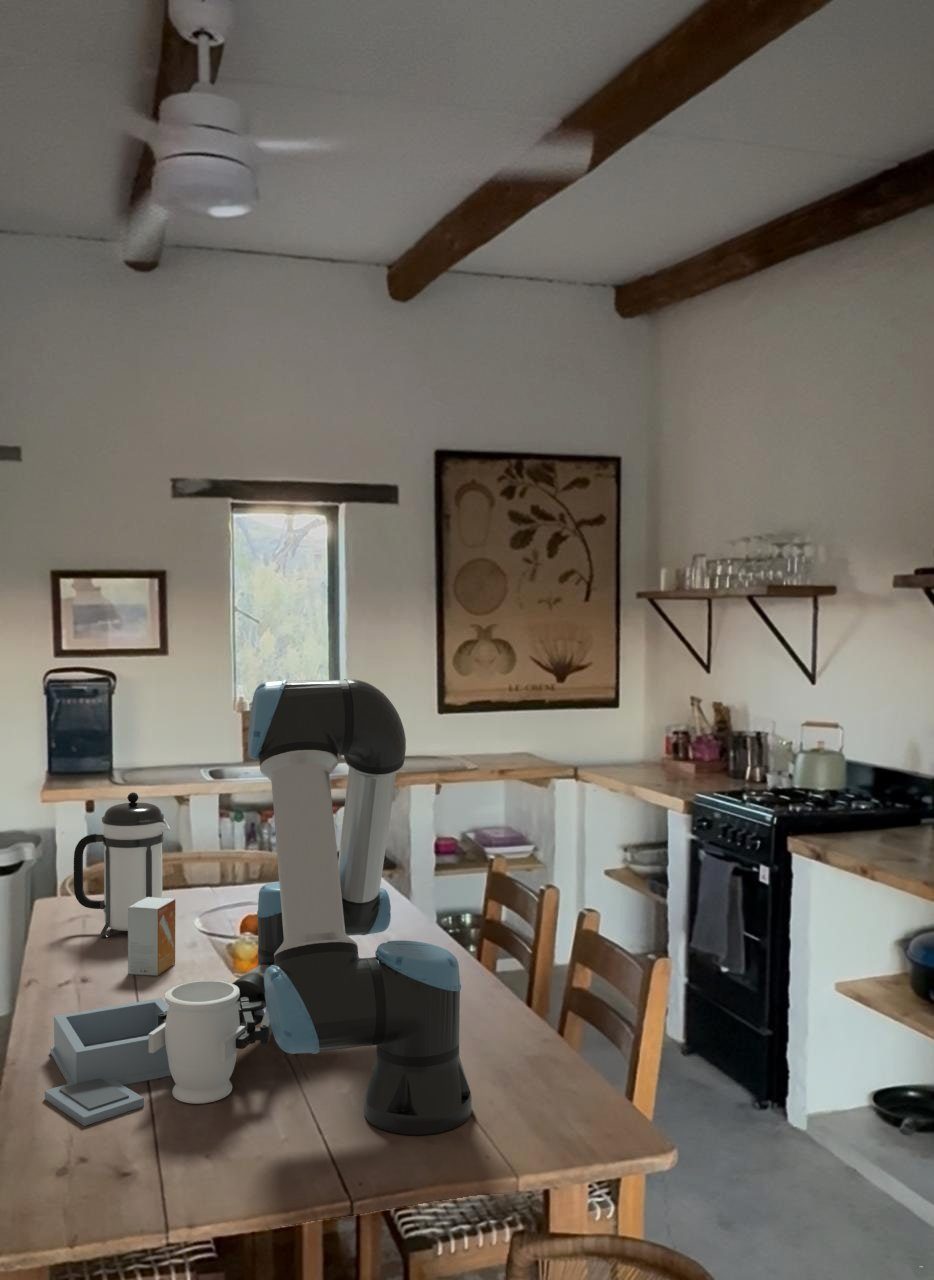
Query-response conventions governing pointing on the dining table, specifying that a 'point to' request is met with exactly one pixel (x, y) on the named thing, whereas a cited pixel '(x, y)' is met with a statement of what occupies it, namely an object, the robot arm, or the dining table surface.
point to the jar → (200, 1038)
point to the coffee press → (125, 860)
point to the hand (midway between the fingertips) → (186, 1047)
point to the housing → (110, 1043)
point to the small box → (151, 936)
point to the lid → (94, 1100)
